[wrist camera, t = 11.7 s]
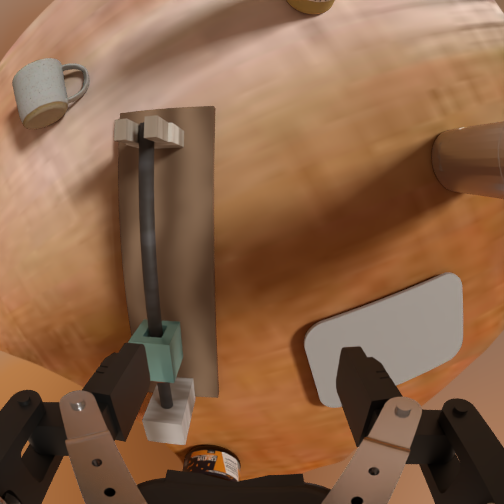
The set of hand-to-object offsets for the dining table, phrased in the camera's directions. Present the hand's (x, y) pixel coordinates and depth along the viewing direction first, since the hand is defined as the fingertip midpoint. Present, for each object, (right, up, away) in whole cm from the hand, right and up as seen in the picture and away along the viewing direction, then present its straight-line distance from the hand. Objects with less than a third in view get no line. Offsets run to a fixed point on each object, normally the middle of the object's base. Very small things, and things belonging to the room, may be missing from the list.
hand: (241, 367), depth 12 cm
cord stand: (-10, +3, +28) cm, 30 cm away
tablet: (+22, -9, +32) cm, 39 cm away
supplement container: (-7, -34, +37) cm, 51 cm away
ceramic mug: (-27, +27, +22) cm, 45 cm away
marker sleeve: (-10, -6, +24) cm, 27 cm away
